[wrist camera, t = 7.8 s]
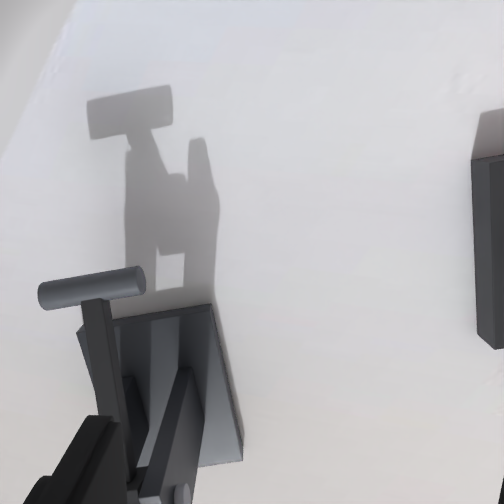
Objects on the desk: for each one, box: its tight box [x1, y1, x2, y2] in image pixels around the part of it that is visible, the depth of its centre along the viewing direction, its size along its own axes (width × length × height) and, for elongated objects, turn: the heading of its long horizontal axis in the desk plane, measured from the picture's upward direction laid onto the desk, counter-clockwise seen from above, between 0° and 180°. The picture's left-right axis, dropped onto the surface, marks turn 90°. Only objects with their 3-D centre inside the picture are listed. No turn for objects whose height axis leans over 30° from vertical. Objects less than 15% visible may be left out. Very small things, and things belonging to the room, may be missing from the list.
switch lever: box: [38, 266, 148, 504], centre depth 21 cm, size 13×5×2 cm, turn 10°
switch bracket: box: [76, 304, 243, 504], centre depth 25 cm, size 12×9×12 cm
